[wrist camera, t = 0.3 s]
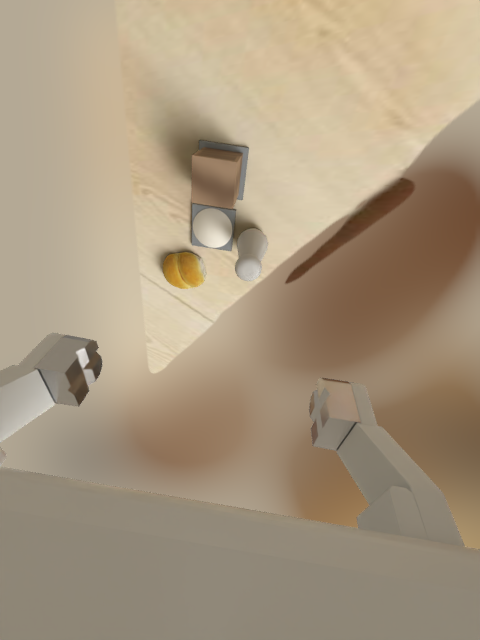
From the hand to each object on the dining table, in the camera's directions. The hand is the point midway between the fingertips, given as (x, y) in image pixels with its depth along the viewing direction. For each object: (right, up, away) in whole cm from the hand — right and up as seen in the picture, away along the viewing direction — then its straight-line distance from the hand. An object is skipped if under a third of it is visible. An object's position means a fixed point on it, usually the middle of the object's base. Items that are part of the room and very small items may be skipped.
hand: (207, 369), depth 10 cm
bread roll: (-10, +13, +51) cm, 53 cm away
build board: (-4, +20, +44) cm, 48 cm away
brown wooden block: (-2, +27, +37) cm, 46 cm away
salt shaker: (+4, +18, +45) cm, 48 cm away
